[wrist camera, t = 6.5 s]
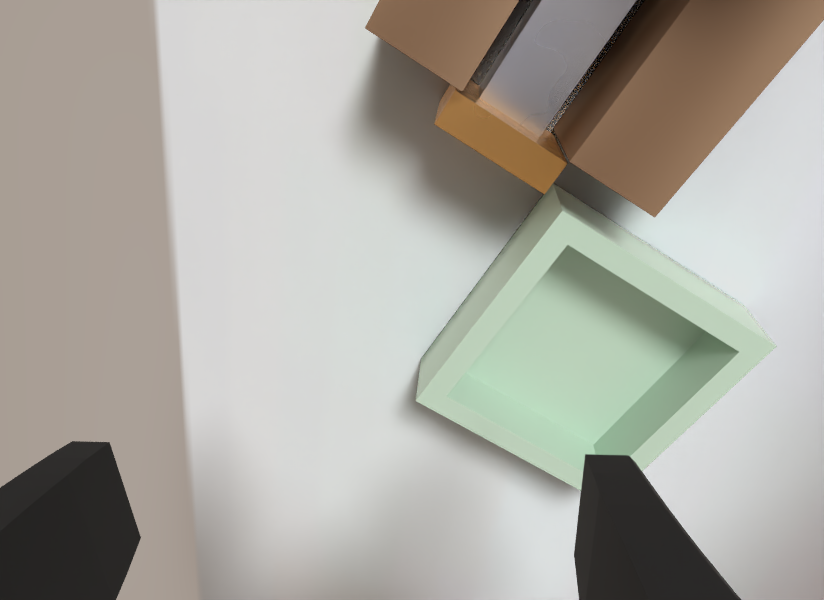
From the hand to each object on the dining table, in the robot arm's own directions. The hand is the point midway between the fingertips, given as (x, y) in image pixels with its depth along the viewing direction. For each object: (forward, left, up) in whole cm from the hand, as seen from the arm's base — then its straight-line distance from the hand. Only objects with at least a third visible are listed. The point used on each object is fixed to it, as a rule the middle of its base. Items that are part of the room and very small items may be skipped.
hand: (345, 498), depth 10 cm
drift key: (0, -7, -9) cm, 11 cm away
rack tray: (-5, -1, -9) cm, 10 cm away
